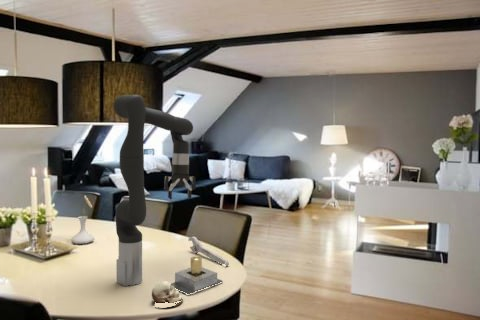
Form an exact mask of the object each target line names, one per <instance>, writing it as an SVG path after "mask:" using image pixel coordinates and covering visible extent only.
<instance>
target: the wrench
mask: <svg viewBox="0 0 480 320" xmlns="http://www.w3.org/2000/svg"><path fill="white" fill-rule="evenodd" d="M188 241H189V242H190V241H191V242H192V246H189V248H190V250H191V251H192V252H193V253H198V254H199V253H201V254H202V255H204V256H206V257H207V258H209V259H210V260H212V261H214V262H215V261H216V262H215V263H217V262H219V263H221V264H225V265H226V266H227V265H229V266H230V263H229V260H228V259H226V258H224V257H222V256H221V255H218V254H217V253H215V252H214V251H212V250H210V249H209V248H206V247H205V246H203V244H201V242H200V241H199V240H198V238H197V237H196V236H190V237H189V238H188ZM219 263H218V264H219ZM227 267H228V266H227Z"/></svg>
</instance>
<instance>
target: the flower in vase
mask: <svg viewBox="0 0 480 320" xmlns="http://www.w3.org/2000/svg"><path fill="white" fill-rule="evenodd" d="M84 200H85V203H84V205H83V208H82V212H81V213H80V216H78V217H77V219H78V220H79V223H80V229H79V232H78V233H76V234H75V235H74V236H73V237H72V238H71V242H72V243H74V244H81V245H82V244H89V243H92V242H93V241H94V240H95V237H94V235H92V234H91V233H89V232H88V231H87V230H86V221H87V219H88V216H87V215H84V214H86V213H87V212H86V209H85V207H86V204H87V205H88V206H89V207H90V208H91V209H92V208H93V205H92V203H91V201H90V200H89V198H88V197H87V195H84Z"/></svg>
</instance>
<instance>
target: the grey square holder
mask: <svg viewBox="0 0 480 320" xmlns="http://www.w3.org/2000/svg"><path fill="white" fill-rule="evenodd" d="M220 282H222V283H223V280H222V279H219V278H218V272H216V271H214V270H212V269H211V270H210V269H208V268H205V267H202V275H200V276H197V277H195V276H192V275H191V267H189V268H186V269H182V270H180V271H175V273H174V282H172V283H171V286H174V287H175V288H176V289H178V290H180V291H183V292H185V293H187V294H190V293H193V292H195V291H198V290H201V289H204V288H206V287H209V286H212V285H215V284H218V283H220Z"/></svg>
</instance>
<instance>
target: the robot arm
mask: <svg viewBox="0 0 480 320" xmlns="http://www.w3.org/2000/svg"><path fill="white" fill-rule="evenodd" d="M112 105H113V110H114V113H115V114H116V115H117V116H118V117H120V118H122V119H126V120H127V121H128V122H127V127H128V128H127V133H126V135H125V137H124V138H125V139H124V141H123V143H122V145H121V147H120V150H119V171H120V173H121V176H122V179H123V180H124V183H125V186H126V187H127V191H128V199H124V200H122V201H120V202H119V203H118V205H117V206H116V209H115V228H116V230H115V231H116V235H117V237H118V258H117V259H116V283H118V284H119V285H121V286H123V287H127V286H128V285H131V286H136V285H138V283H139V284H141V283H142V282H143V233H142V232H141V231H140V230H139V229H138V228H137V226H140V225H142V224H143V223H144V222H145V220H146V217H147V204H146V193H145V175H144V171H145V168H144V167H145V161H144V160H145V159H144V158H145V157H144V156H145V154H144V136H145V135H144V133H145V123H147V124H148V125H152V126H154V127H158V128H160V129H162V130H165V131H169V132H170V136H171V137H170V138H171V141H172V157H171V158H172V160H171V176H167V175H165V176H164V182H163V183H164V184H163V189H164V190H165V191H167V197H168V199H169V200H172V199H173V191H172V190H173V189H174V188H175V187H176V186H177V187H180V186H183V187H184V186H185V188H186V189H187V196H186V197H187V198H186V199H188V200H190V199H191V198H192V191H194V190H196V189H197V188H196V187H197V185H196V184H197V182H196V176H193V175H192V176H190V172H189V171H190V157H189V150H190V149H189V147H190V144H189V142H188V141H187V140H184V138H183V136H189V135H190V134H192V133H193V131H194V125H193V123H192V122H191V121H190V119H187V118H183V117H180V116H175V115H172V114H171V113H168V112H165V111H163V110H159V109H154V108H150V107H146V103H145V100H144V98H143V97H142V96H141V95H139V94H123V95H119V96H118V97H116V98H115V99H114V101H113V104H112ZM170 180H171V181H172V182H171V183H170V186H169V182H170ZM189 180H190V182H191V185H190V184H189V183H188V182H189ZM141 281H142V282H141ZM140 282H141V283H140ZM135 284H136V285H135ZM128 287H129V286H128Z"/></svg>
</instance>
